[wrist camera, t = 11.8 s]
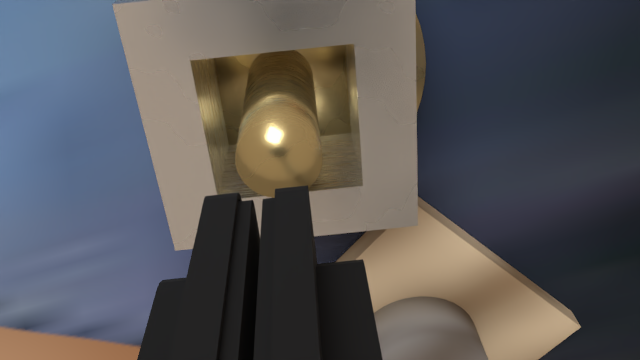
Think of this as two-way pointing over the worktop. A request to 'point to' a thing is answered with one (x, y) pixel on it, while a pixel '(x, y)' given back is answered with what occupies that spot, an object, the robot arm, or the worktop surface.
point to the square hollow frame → (262, 37)
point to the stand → (454, 296)
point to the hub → (288, 110)
